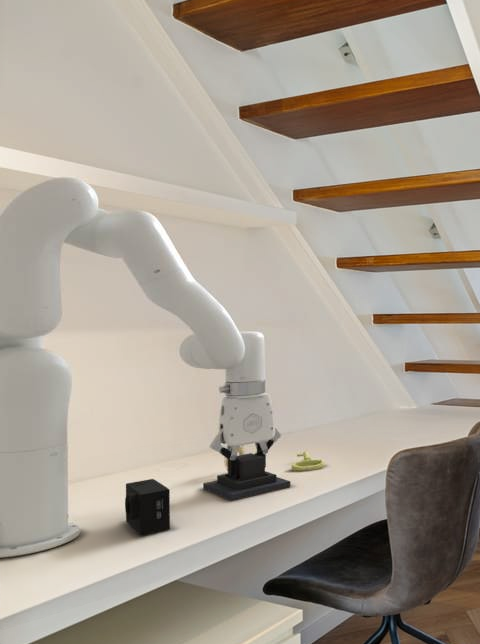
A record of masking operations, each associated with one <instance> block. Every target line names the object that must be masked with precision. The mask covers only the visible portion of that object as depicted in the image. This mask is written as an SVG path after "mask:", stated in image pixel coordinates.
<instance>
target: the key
mask: <svg viewBox="0 0 480 644" xmlns="http://www.w3.org/2000/svg"><path fill="white" fill-rule="evenodd" d="M296 457H303V459H302V460H299V461H295V462H293V463H292V464H291V470H292V471H293V472H301V471H313V470H319V469H323V468H324V467H325V461H324V460H323V459H311V457H310V455H309V451H306V450H305V451H303V452H300V453H296Z"/></svg>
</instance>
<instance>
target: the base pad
mask: <svg viewBox="0 0 480 644" xmlns="http://www.w3.org/2000/svg"><path fill="white" fill-rule="evenodd" d="M290 487H291V481H290V480H288V479H286V478H282V477H278V476H277V474H276V473H272V472H269V471H266V470H265V476H262V477H258V478H253V479H249V480H244V481H242V480H240V479H234V478H231V477H230V476H229V474H228V472H227V473H223V474H218V475H217V476H216V480H212V481H206V482H203V483H202V488H203V490H205V491H207V492H210V493H213V494H215V495H217V496H220V497H222V498H224V499H227V500H229V501H231V502H234V501H236V500H237V501H238V500H241V499H245V498H249V497H254V496H258V495H262V494H266V493H271V492H274V491H279V490H283V489H287V488H288V489H289V488H290Z"/></svg>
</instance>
